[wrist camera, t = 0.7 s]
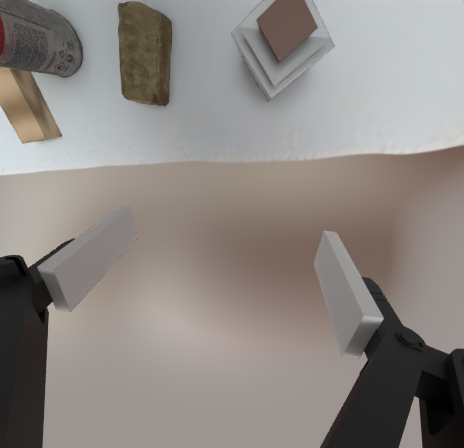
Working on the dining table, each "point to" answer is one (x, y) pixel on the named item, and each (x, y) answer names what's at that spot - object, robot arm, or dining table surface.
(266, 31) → the perfume bottle
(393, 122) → the dining table surface
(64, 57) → the spray can
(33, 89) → the wooden stand
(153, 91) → the stone block
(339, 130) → the dining table surface
